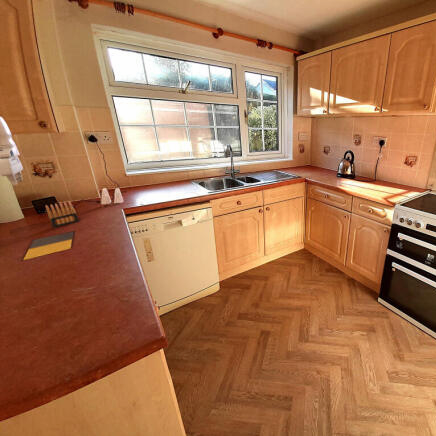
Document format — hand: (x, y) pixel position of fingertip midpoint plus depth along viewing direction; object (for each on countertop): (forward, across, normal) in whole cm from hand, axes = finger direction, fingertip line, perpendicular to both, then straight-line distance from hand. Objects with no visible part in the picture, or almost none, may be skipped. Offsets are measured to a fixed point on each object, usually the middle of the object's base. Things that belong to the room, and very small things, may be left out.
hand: (17, 182), depth 112 cm
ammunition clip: (+25, -3, +10) cm, 27 cm away
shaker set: (+24, -28, +32) cm, 49 cm away
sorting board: (+25, +27, +8) cm, 37 cm away
